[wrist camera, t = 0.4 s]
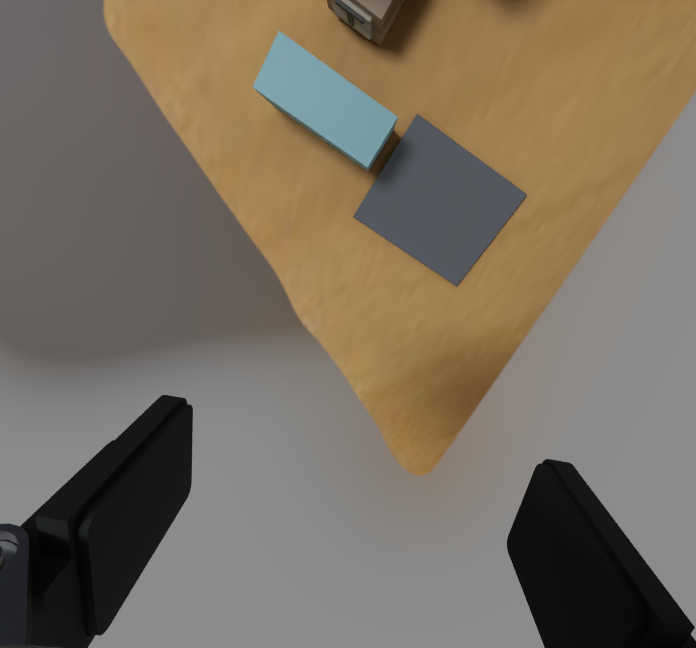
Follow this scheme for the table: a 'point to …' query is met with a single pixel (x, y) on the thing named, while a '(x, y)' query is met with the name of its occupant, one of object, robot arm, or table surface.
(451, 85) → the table surface
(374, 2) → the wooden letter block
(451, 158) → the dark gray block
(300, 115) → the teal rectangular block
